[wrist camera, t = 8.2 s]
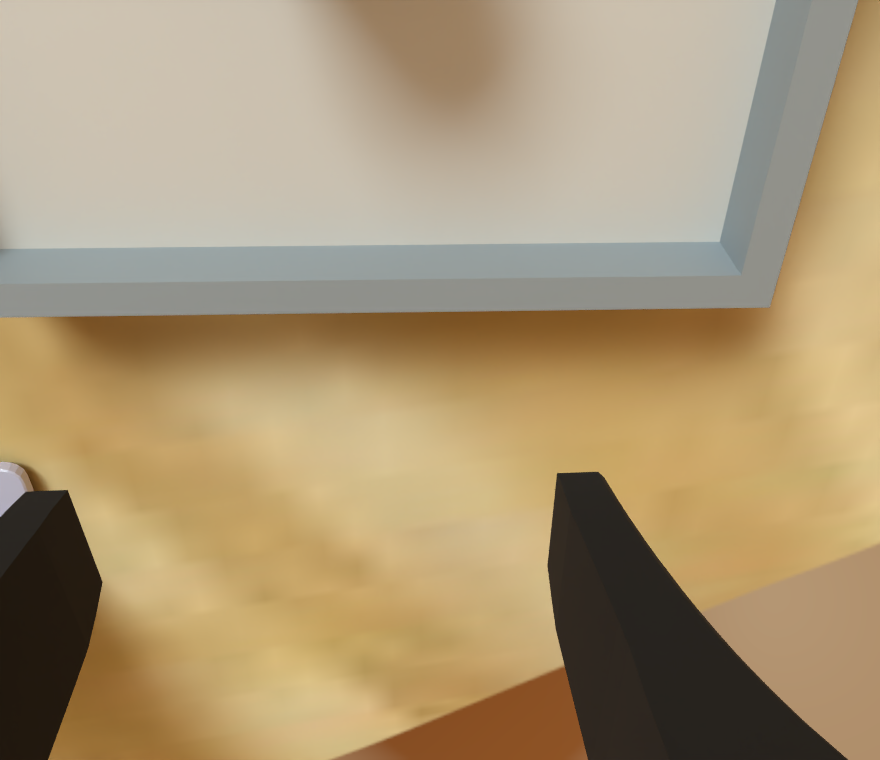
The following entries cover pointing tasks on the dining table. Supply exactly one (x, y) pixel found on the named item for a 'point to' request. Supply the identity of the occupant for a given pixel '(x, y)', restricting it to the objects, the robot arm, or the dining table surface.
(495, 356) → the dining table surface
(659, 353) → the dining table surface
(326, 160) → the crate
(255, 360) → the dining table surface
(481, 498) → the dining table surface
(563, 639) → the robot arm
